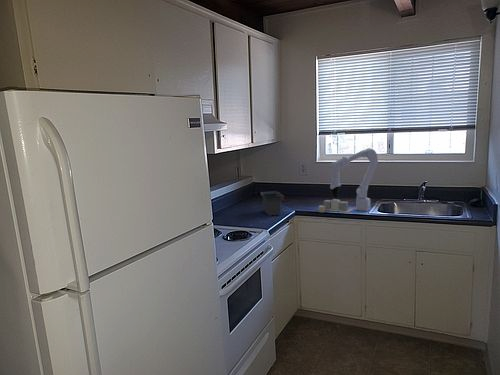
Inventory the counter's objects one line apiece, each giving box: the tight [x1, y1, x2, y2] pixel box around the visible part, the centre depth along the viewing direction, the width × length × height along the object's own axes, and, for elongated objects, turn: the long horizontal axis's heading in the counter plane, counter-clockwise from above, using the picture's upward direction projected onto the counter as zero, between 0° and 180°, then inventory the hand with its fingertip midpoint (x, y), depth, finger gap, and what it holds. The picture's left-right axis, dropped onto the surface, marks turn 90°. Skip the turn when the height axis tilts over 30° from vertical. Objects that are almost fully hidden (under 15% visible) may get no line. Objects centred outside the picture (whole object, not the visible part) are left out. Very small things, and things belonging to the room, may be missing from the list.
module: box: [330, 198, 341, 209], centre depth 272 cm, size 5×4×6 cm
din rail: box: [322, 199, 354, 213], centre depth 272 cm, size 22×8×6 cm, turn 55°
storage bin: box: [260, 190, 285, 217], centre depth 271 cm, size 21×16×14 cm
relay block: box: [317, 205, 326, 213], centre depth 269 cm, size 4×4×4 cm
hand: (335, 197), depth 271 cm, fingers closed
